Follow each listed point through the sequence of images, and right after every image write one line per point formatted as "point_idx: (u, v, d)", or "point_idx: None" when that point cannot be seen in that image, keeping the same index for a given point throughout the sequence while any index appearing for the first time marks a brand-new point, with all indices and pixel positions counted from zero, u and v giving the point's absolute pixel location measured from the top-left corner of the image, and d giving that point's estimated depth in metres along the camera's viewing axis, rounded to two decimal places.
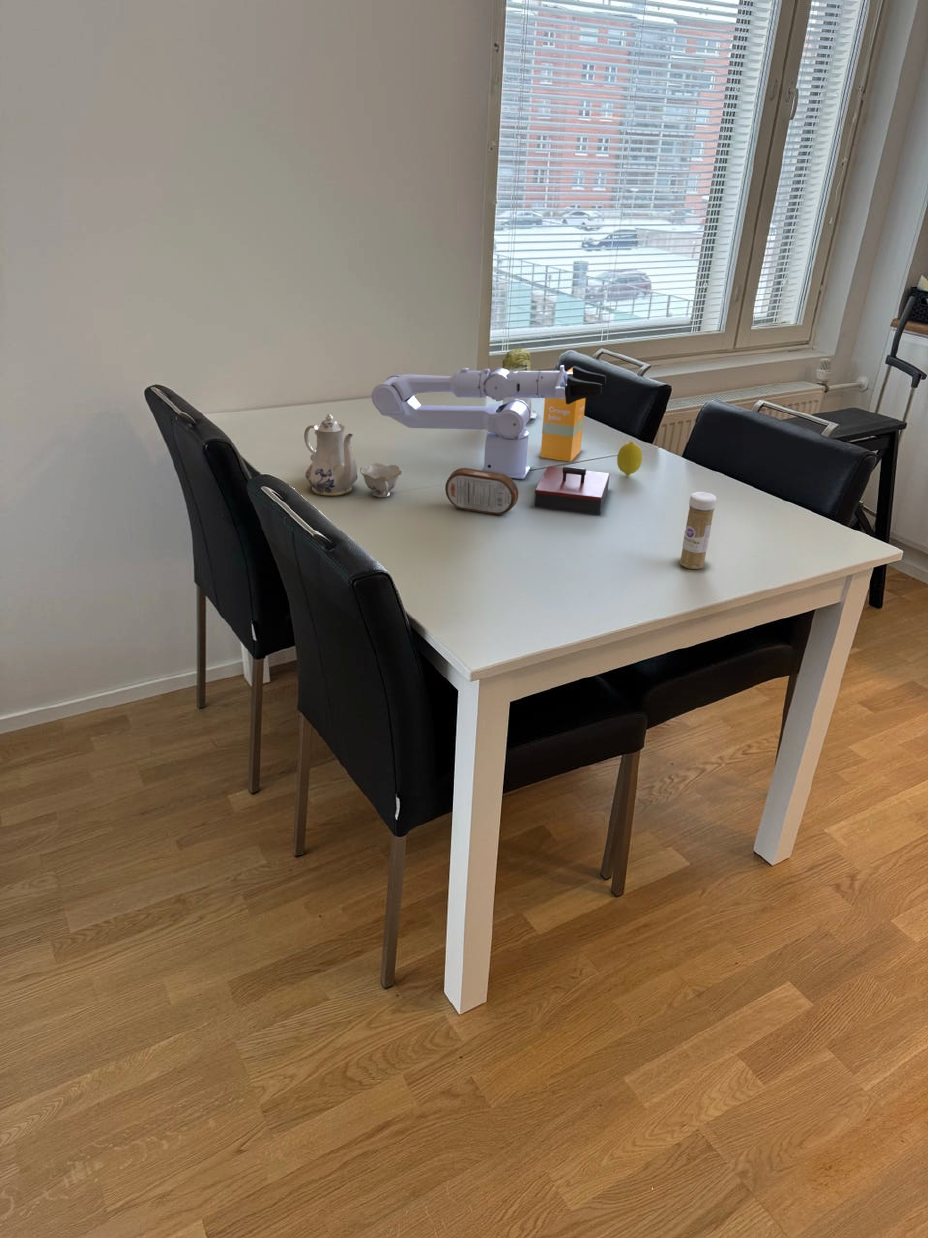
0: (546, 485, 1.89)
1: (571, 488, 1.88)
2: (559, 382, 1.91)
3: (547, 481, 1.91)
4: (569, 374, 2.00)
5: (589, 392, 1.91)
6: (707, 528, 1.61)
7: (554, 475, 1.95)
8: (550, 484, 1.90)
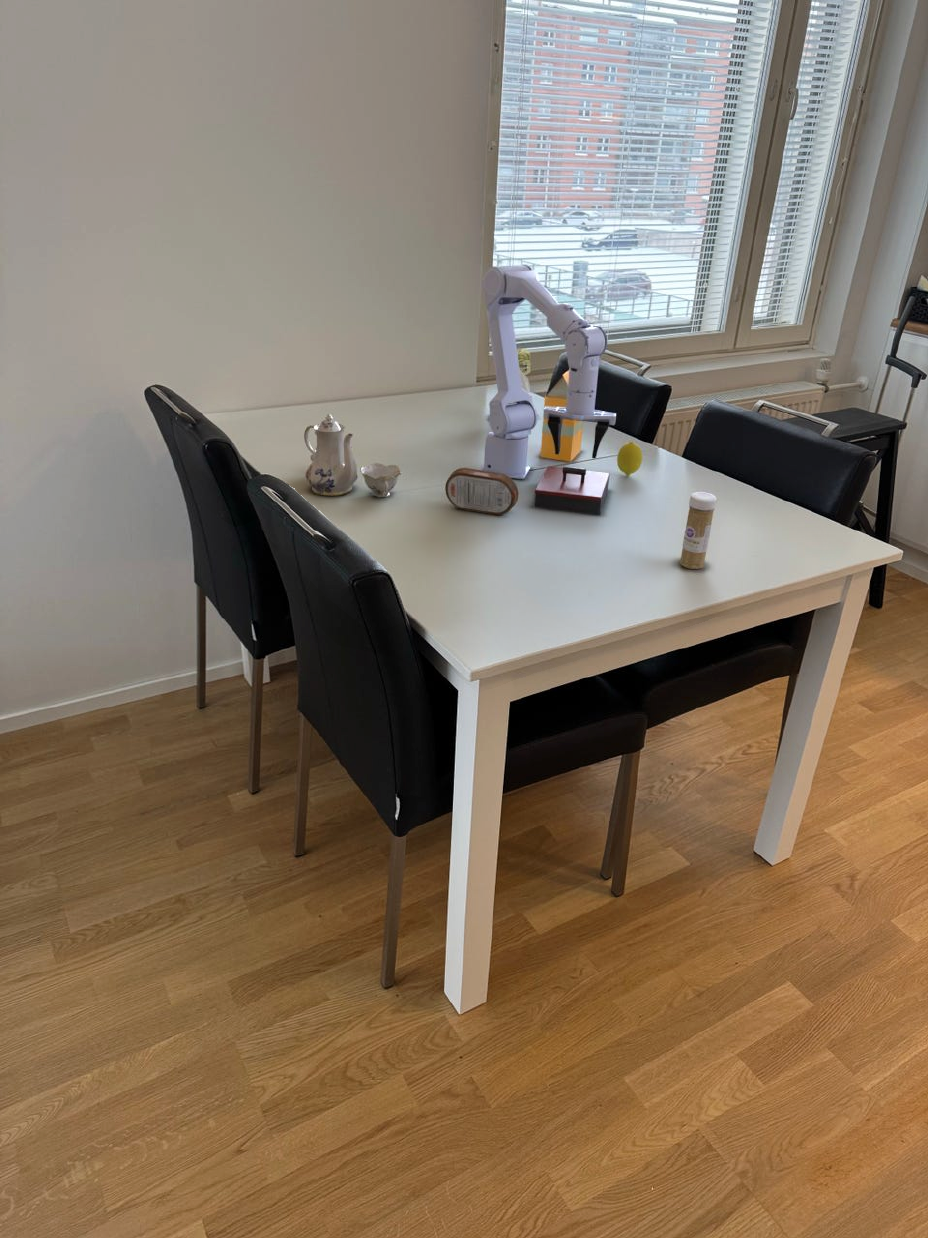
0: (546, 485, 1.89)
1: (571, 488, 1.88)
2: (556, 413, 1.85)
3: (547, 481, 1.91)
4: (609, 420, 1.83)
5: None
6: (707, 528, 1.61)
7: (554, 475, 1.95)
8: (550, 484, 1.90)
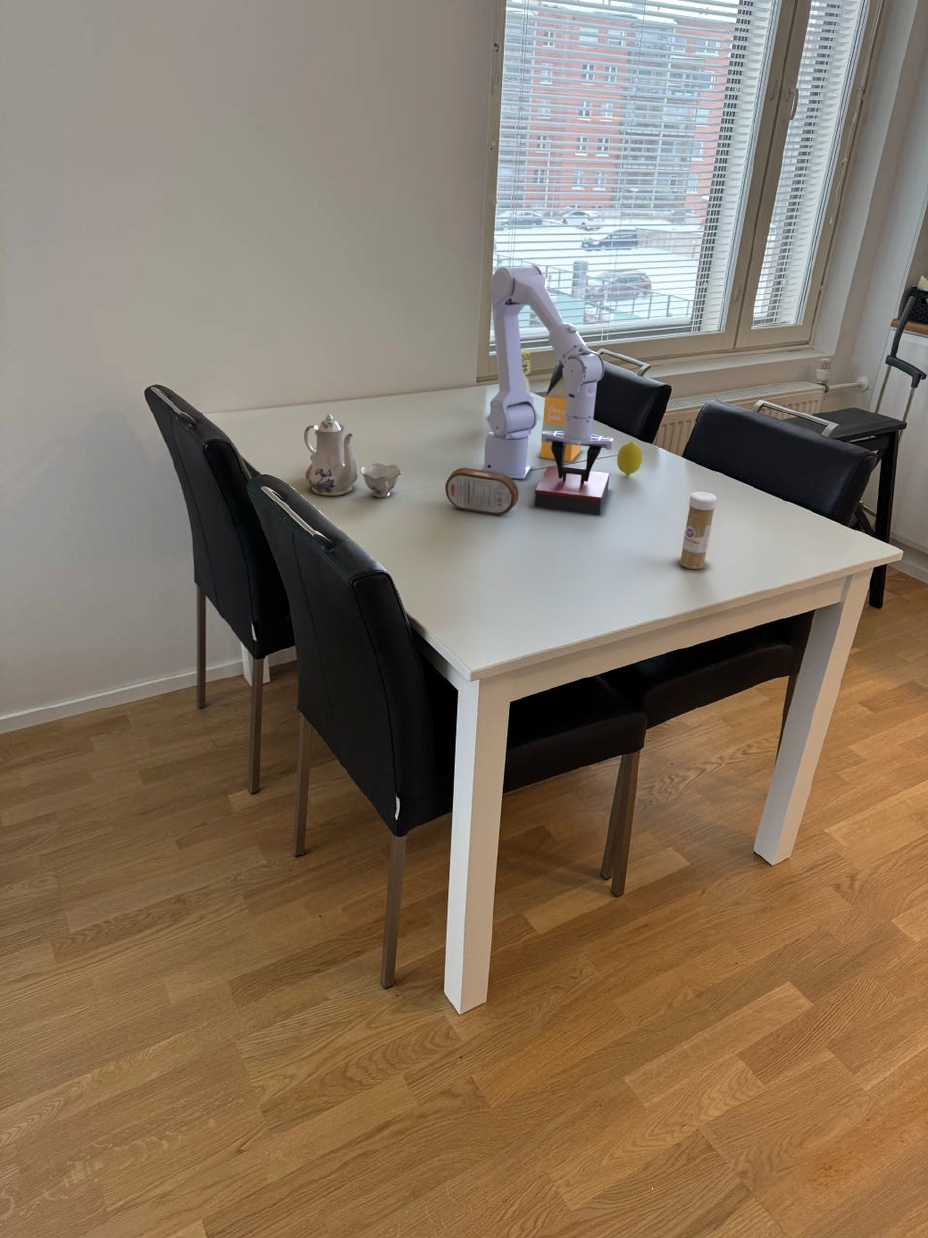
0: (546, 485, 1.89)
1: (571, 488, 1.88)
2: (553, 437, 1.87)
3: (547, 481, 1.91)
4: (606, 444, 1.86)
5: None
6: (707, 528, 1.61)
7: (554, 475, 1.95)
8: (550, 484, 1.90)
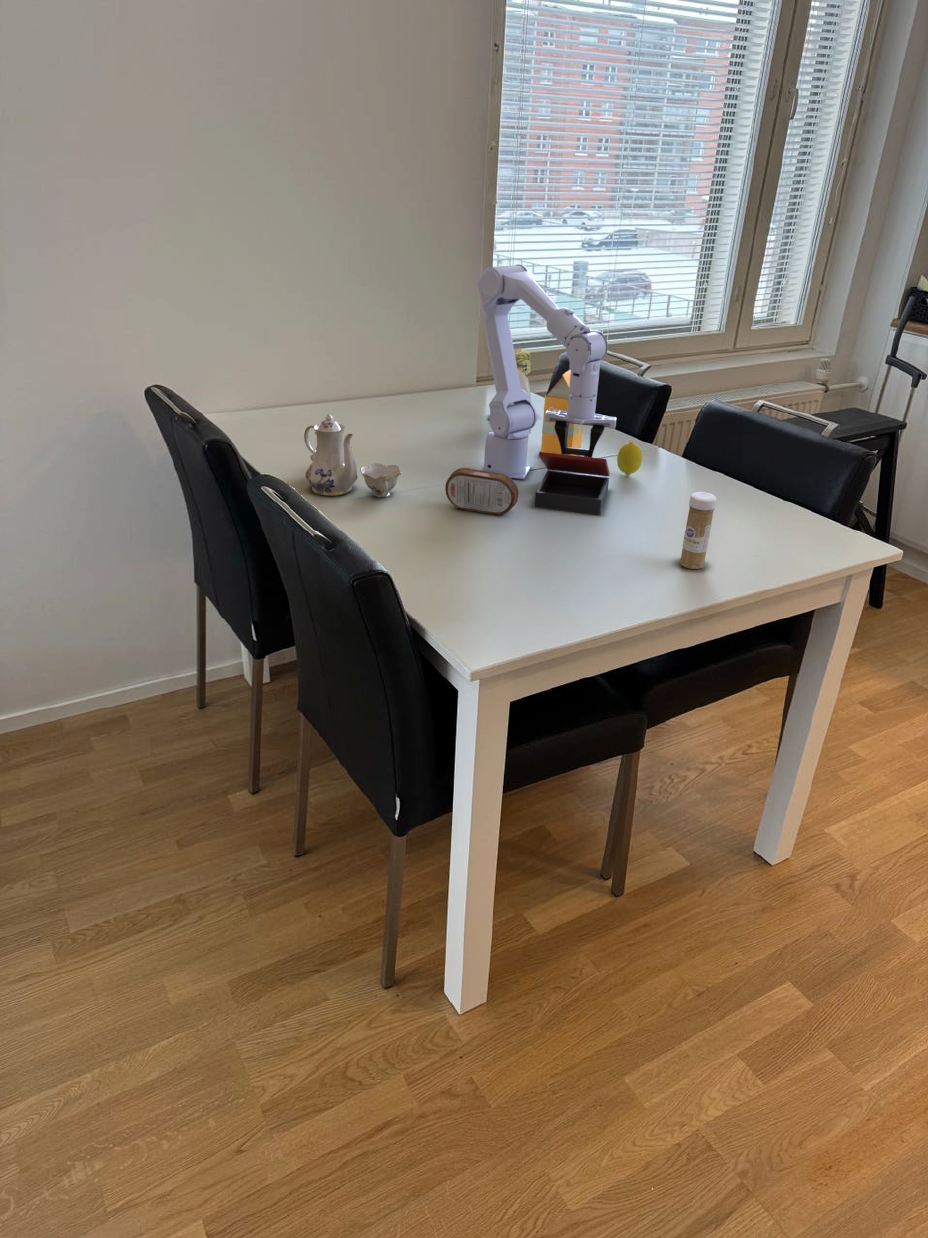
0: None
1: None
2: (557, 417, 1.88)
3: None
4: (609, 424, 1.86)
5: None
6: (707, 528, 1.61)
7: None
8: None
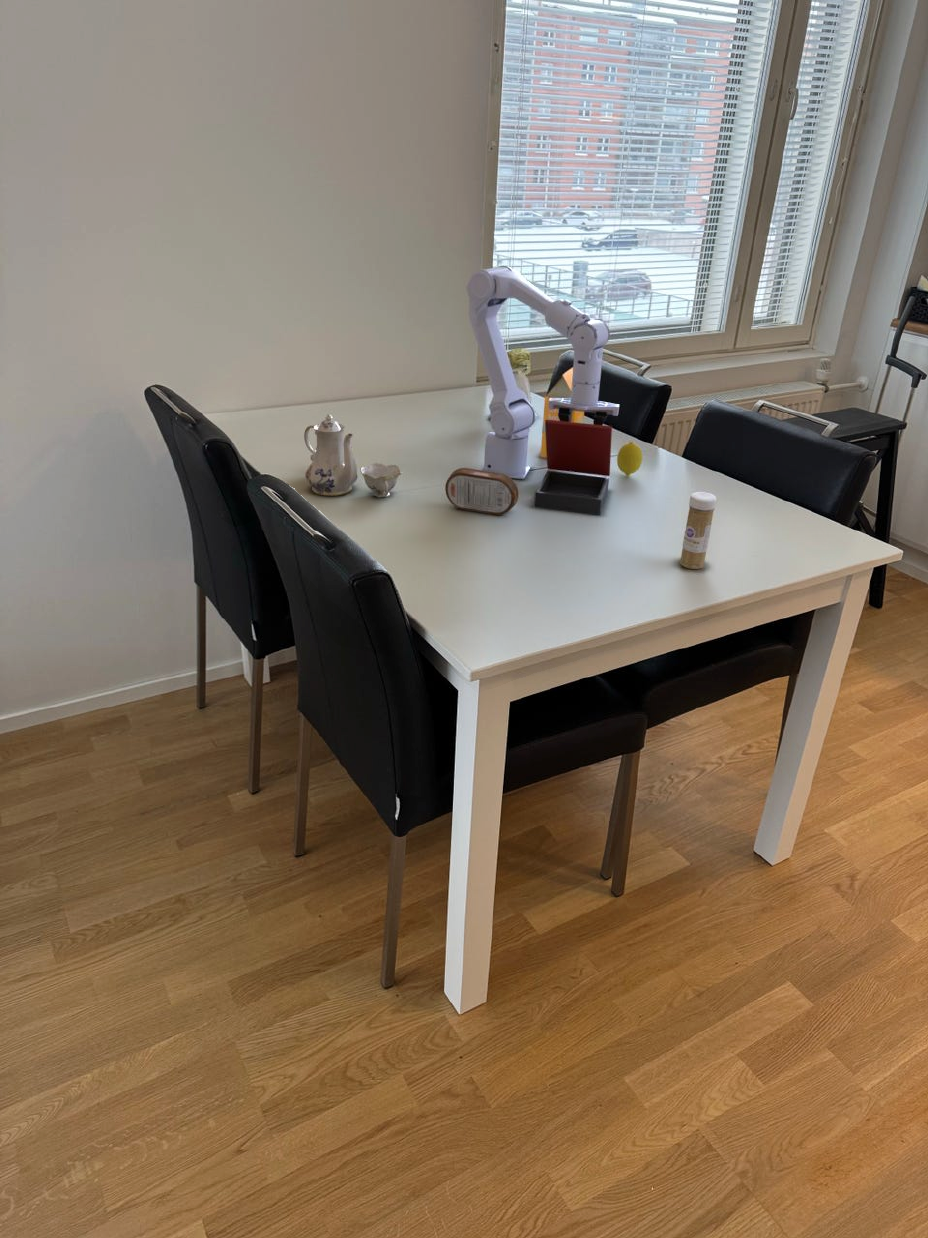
0: None
1: None
2: (560, 404, 1.90)
3: None
4: (612, 410, 1.89)
5: None
6: (707, 528, 1.61)
7: None
8: None
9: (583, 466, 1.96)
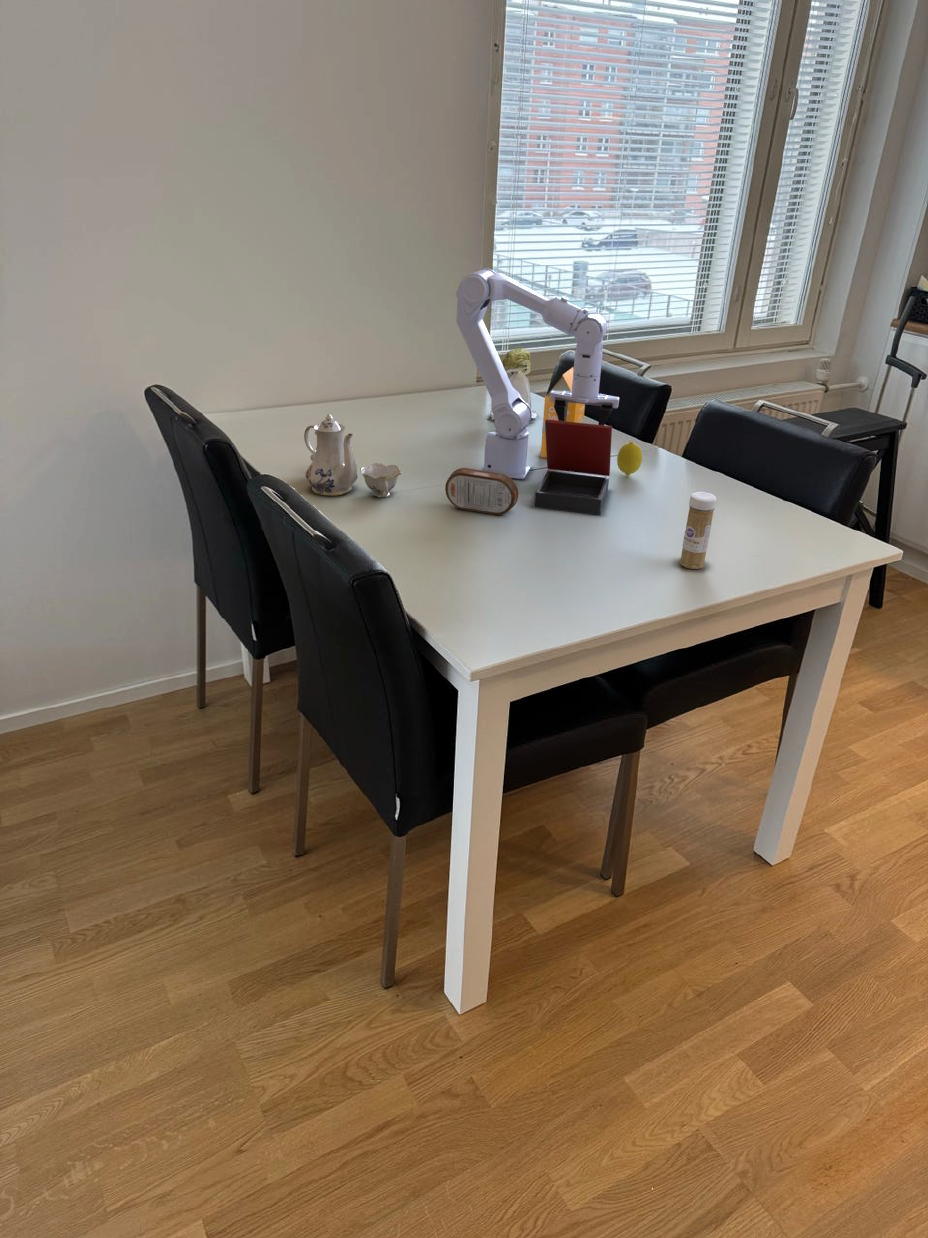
0: None
1: None
2: (562, 396, 1.94)
3: None
4: (612, 403, 1.93)
5: None
6: (707, 528, 1.61)
7: None
8: None
9: (583, 466, 1.96)
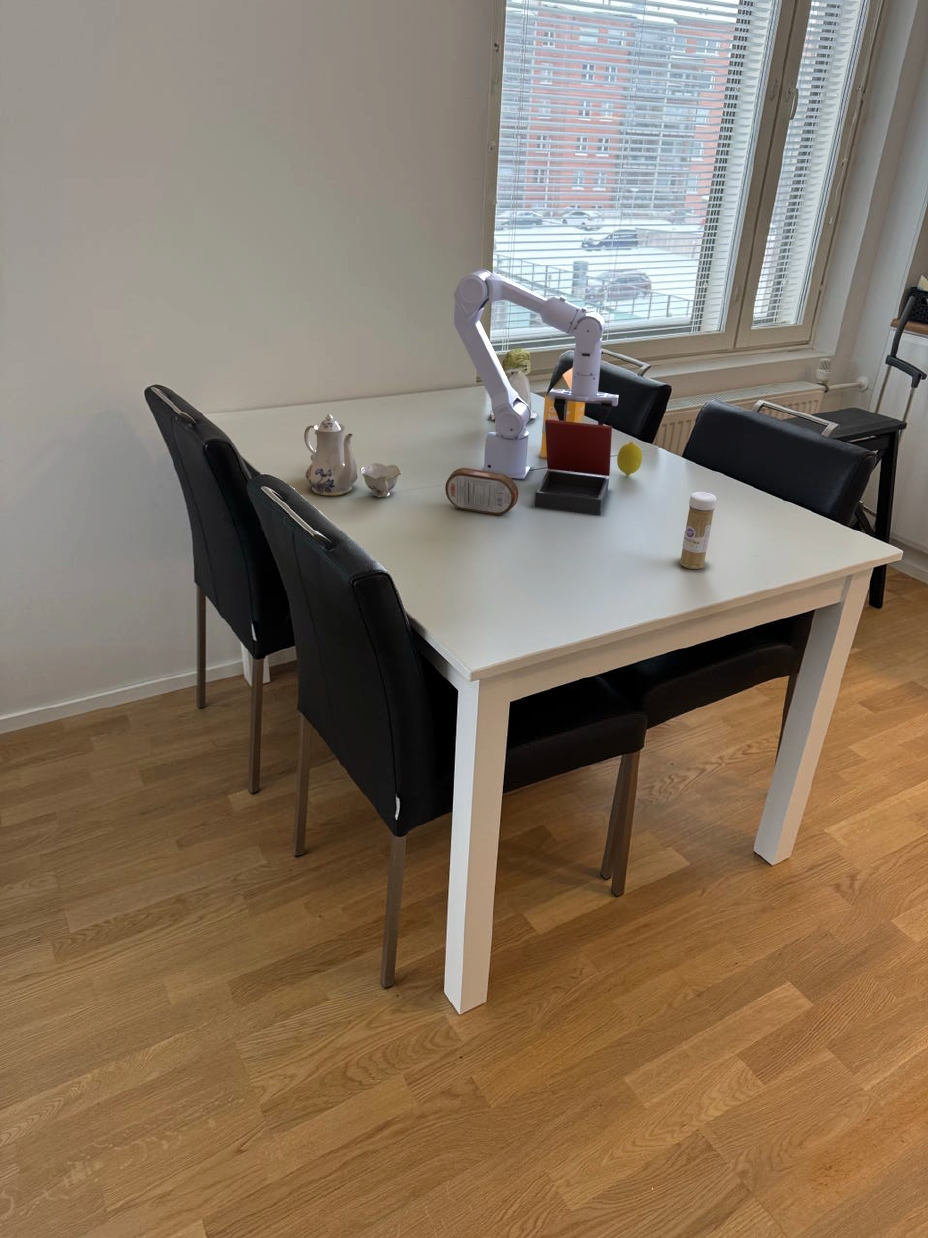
0: None
1: None
2: (561, 395, 1.95)
3: None
4: (611, 401, 1.94)
5: None
6: (707, 528, 1.61)
7: None
8: None
9: (583, 466, 1.96)
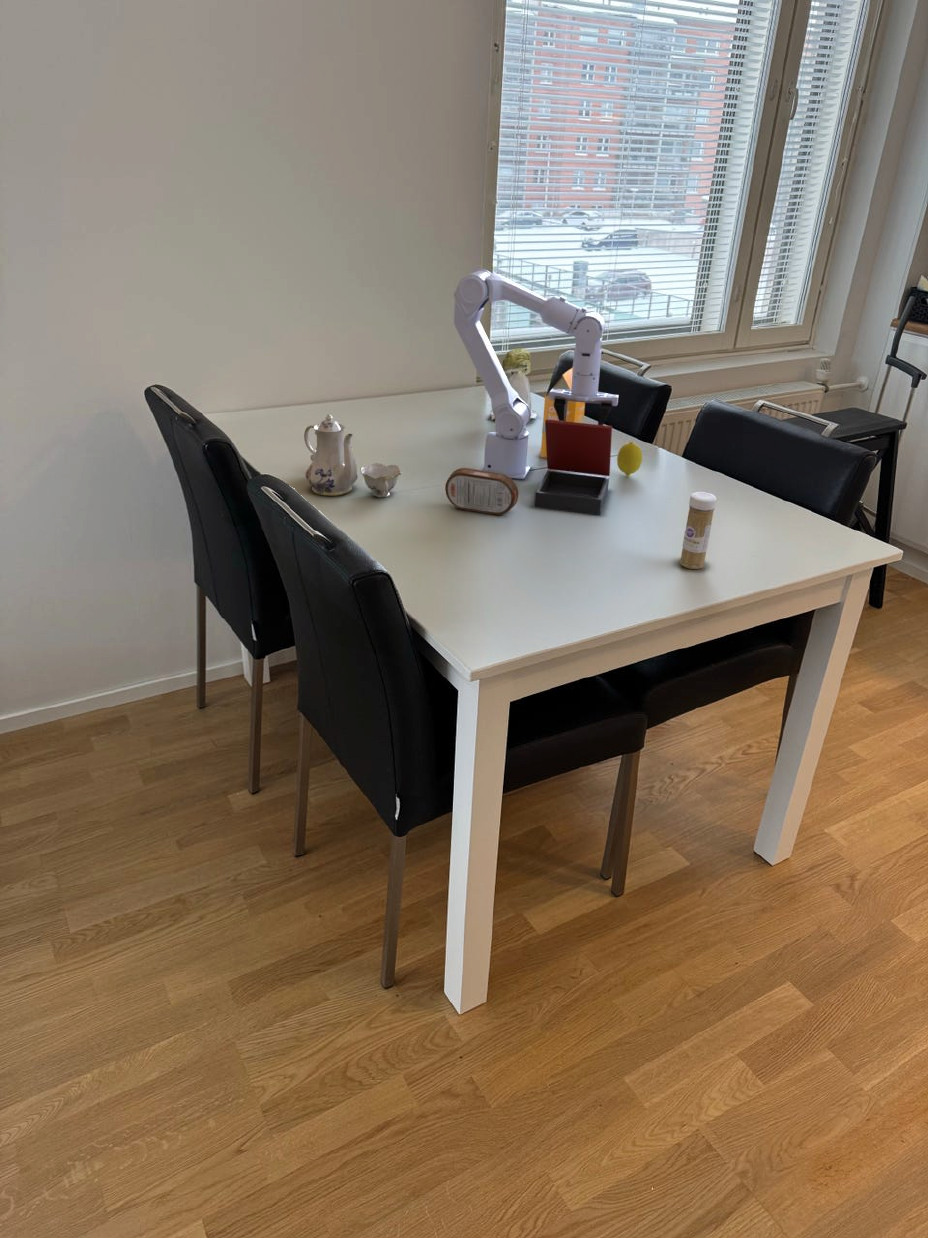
0: None
1: None
2: (561, 395, 1.95)
3: None
4: (611, 401, 1.94)
5: None
6: (707, 528, 1.61)
7: None
8: None
9: (583, 466, 1.96)
